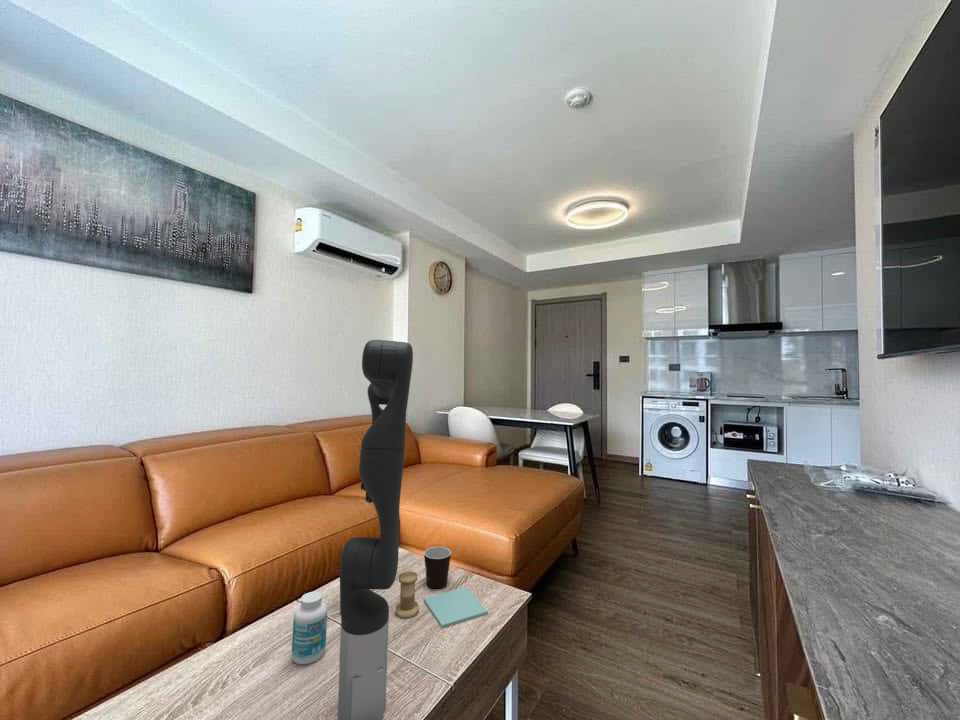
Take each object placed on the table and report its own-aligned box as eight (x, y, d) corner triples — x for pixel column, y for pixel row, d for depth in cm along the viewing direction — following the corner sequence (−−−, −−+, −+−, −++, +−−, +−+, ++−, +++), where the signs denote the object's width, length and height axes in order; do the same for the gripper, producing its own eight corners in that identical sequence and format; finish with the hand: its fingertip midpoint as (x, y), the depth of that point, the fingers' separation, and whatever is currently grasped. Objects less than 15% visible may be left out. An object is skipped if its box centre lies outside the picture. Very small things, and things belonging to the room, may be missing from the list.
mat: (487, 614, 110) (487, 611, 110) (441, 628, 103) (442, 625, 103) (465, 589, 122) (465, 587, 122) (423, 600, 116) (423, 598, 116)
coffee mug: (445, 593, 120) (446, 560, 120) (419, 589, 122) (420, 557, 122) (455, 574, 131) (456, 544, 132) (431, 571, 133) (432, 541, 134)
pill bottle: (288, 669, 88) (291, 607, 89) (294, 647, 95) (297, 590, 96) (323, 663, 90) (326, 603, 91) (327, 642, 97) (329, 586, 98)
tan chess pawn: (421, 615, 109) (422, 578, 109) (399, 621, 106) (400, 583, 106) (414, 603, 115) (415, 568, 115) (392, 608, 112) (393, 573, 112)
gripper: (376, 454, 111) (372, 509, 113) (406, 443, 124) (403, 492, 125) (356, 449, 115) (353, 502, 116) (387, 438, 127) (384, 486, 129)
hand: (379, 497), depth 121 cm, fingers open, 8 cm apart
